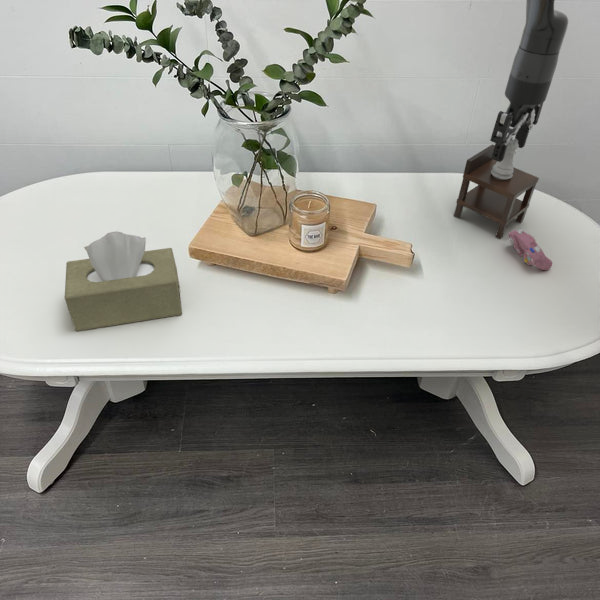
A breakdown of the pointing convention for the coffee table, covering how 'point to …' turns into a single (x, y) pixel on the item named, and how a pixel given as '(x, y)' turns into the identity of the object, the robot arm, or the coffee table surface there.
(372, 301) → the coffee table surface
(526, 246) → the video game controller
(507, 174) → the rook chess piece
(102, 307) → the tissue box
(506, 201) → the stand
